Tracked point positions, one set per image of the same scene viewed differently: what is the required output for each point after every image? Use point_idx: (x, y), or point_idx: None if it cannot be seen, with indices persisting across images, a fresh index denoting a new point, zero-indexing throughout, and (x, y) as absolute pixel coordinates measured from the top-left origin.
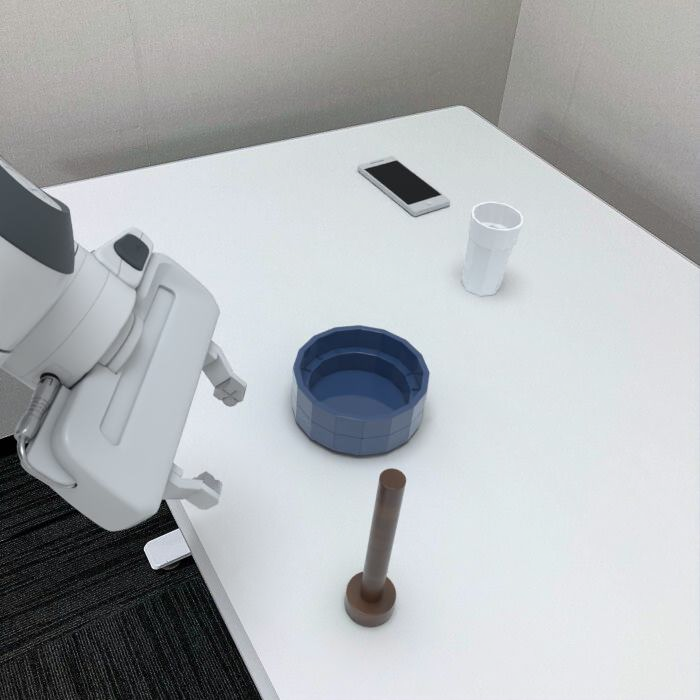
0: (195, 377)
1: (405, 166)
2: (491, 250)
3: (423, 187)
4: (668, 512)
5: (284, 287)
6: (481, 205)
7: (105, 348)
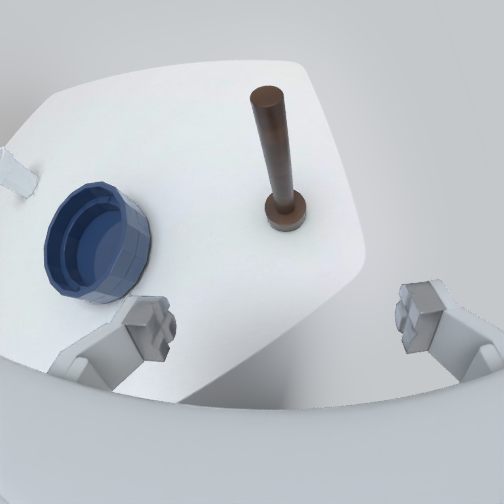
0: (183, 418)
1: None
2: (12, 167)
3: None
4: (193, 70)
5: (21, 320)
6: None
7: None
